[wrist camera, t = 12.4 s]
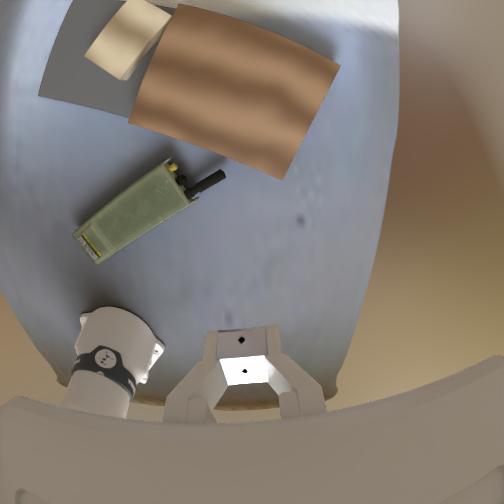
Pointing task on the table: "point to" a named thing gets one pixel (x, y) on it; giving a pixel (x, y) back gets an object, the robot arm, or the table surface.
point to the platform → (232, 89)
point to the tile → (128, 38)
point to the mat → (90, 62)
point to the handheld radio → (139, 210)
